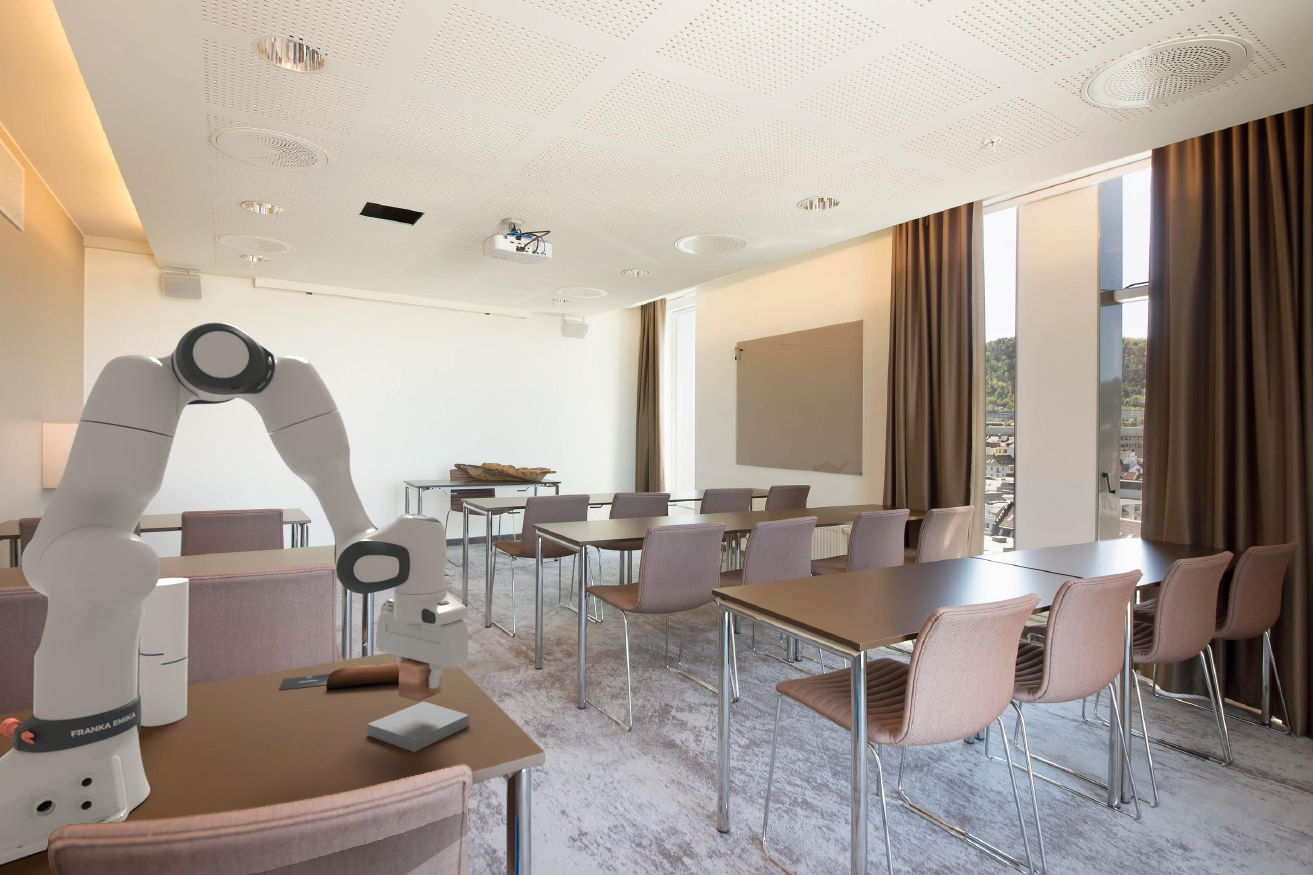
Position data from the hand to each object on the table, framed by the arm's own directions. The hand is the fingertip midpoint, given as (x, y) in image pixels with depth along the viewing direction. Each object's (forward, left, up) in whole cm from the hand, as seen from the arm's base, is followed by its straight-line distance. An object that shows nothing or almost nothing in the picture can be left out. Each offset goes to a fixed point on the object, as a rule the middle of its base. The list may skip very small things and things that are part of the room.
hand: (419, 683), depth 119 cm
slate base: (0, 0, -8) cm, 8 cm away
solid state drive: (+4, +39, -9) cm, 41 cm away
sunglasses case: (+12, +28, -9) cm, 32 cm away
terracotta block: (0, 0, -2) cm, 2 cm away
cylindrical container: (-21, +44, -8) cm, 49 cm away
